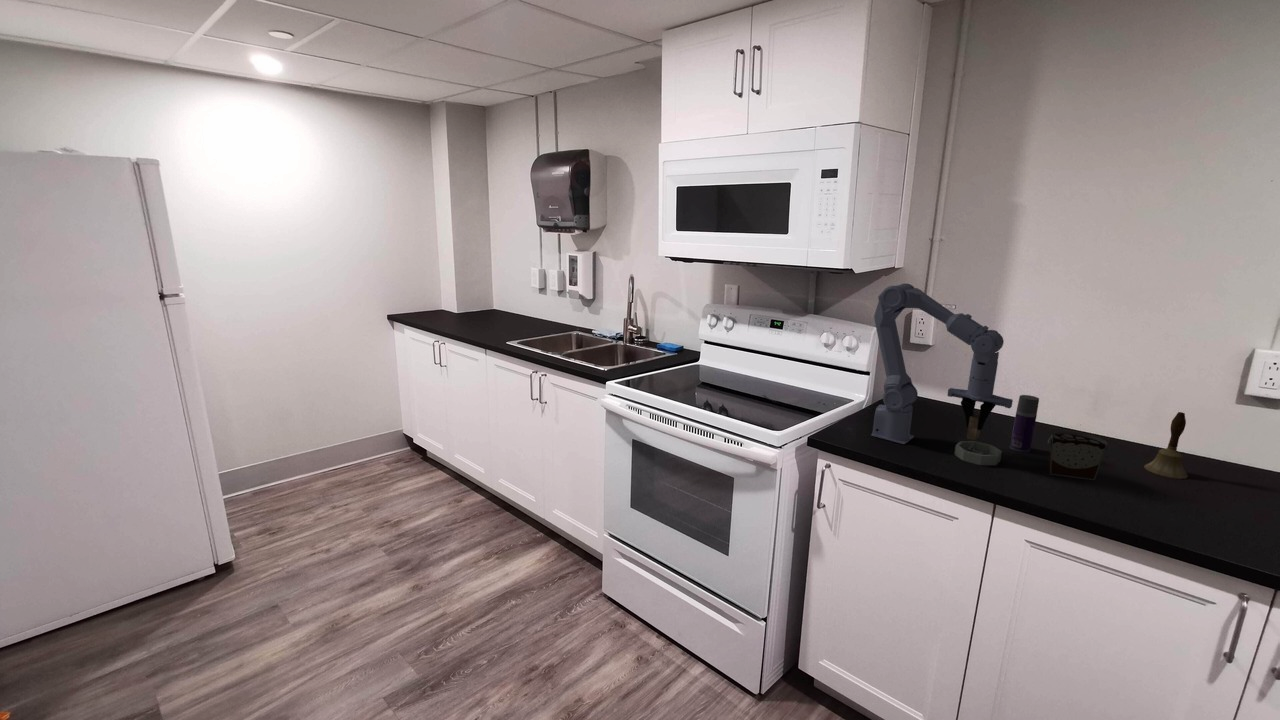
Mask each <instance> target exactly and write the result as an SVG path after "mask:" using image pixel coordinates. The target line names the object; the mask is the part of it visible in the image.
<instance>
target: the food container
mask: <svg viewBox="0 0 1280 720" xmlns="http://www.w3.org/2000/svg"><path fill="white" fill-rule="evenodd" d="M1047 444H1049V445H1050V449H1049V451H1050V452H1049V462H1048V463H1049V465H1048V474H1049V475H1052V476H1059V477H1068V478H1075V479H1084V480H1091V481H1095V480H1096V478H1097V474H1098V472H1099V469H1100V467H1101V463H1102V461H1103V459H1104V455H1105V452H1106V451H1107V452H1108V451H1109V450H1110V449H1109V444H1108V441H1107V440H1104V439H1102V438H1101V437H1098V436H1095V435H1091V434H1087V433H1082V432H1078V431H1068V430H1066V431H1065V430H1061V431H1060V430H1059V431H1054V432H1052V433H1051V434H1050V436H1049V438H1048V439H1047Z"/></svg>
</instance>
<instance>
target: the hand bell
mask: <svg viewBox="0 0 1280 720" xmlns="http://www.w3.org/2000/svg"><path fill="white" fill-rule="evenodd" d="M1186 424H1187V420H1186V413H1185V412H1183V411H1182V412H1180V411H1178V412H1177V413H1176V415H1175V416H1174V417H1173V419H1172V420H1171V424H1170V438H1169V441H1168V445H1167V447H1166V448H1161V449H1159V450H1158V452H1157V454H1156V456H1155V458H1154V459H1153V460H1151V462H1149V463H1146V464H1145V465H1144V469H1145V470H1147V471H1148V472H1149V473H1151V474H1154V475H1157V476H1161V477H1162V478H1164V477H1165V478H1169V479H1174V480H1185V479H1188V477H1189V476H1188V473H1187V472H1186V471H1185V470H1184V467H1183V454H1182V453H1181V452H1179V451H1177V450H1178V449H1177V448H1178V445H1179V440H1180V437H1181V435H1182V434H1183V433H1184V430H1185V428H1186Z"/></svg>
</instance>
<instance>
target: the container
mask: <svg viewBox="0 0 1280 720" xmlns="http://www.w3.org/2000/svg"><path fill="white" fill-rule="evenodd" d="M1018 397H1019V398H1018V401H1017V406H1016V412H1015V417H1014V423H1013V429H1012V433H1011V440H1010V445H1009V448H1010V449H1011V450H1012V451H1016V452H1018V453H1029V452H1030V451H1031V447H1032V442H1033V437H1034V431H1035V426H1036V423H1037V422H1036V421H1037V416H1038V410H1039V402H1040V398H1039V397H1038V396H1034V395H1030V394H1021V395H1019V396H1018Z"/></svg>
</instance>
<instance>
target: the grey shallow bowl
mask: <svg viewBox="0 0 1280 720" xmlns="http://www.w3.org/2000/svg"><path fill="white" fill-rule="evenodd" d="M1002 453H1003V452H1002V450H1000V449H999V448H997V447H996V446H994V445H993V444H988V443H985V442H980V441H976V440H967V441H966V440H962V441H961V440H960V441H958V443H957V444H955V447H954V456H956V457H957V458H959V459H960V460H962V461H964V462H967V463H971V464H974V465H977V466H978V465H979V466H997V465H998V464H999V463H1000V462H1001V459H1002Z"/></svg>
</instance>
